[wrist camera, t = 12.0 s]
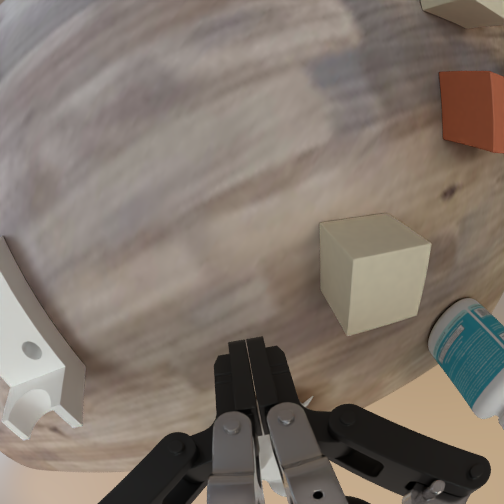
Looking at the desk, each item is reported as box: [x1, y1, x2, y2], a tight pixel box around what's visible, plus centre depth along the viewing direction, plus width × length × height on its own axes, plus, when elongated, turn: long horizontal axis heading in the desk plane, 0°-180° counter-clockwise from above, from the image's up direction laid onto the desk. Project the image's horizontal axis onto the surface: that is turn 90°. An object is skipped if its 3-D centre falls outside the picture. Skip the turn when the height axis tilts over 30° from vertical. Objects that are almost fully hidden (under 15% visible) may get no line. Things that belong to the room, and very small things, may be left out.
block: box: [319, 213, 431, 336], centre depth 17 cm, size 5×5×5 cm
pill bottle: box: [428, 298, 504, 429], centre depth 19 cm, size 8×7×14 cm
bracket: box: [0, 236, 86, 440], centre depth 15 cm, size 13×7×8 cm, turn 15°
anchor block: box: [439, 71, 504, 153], centre depth 13 cm, size 5×5×5 cm
